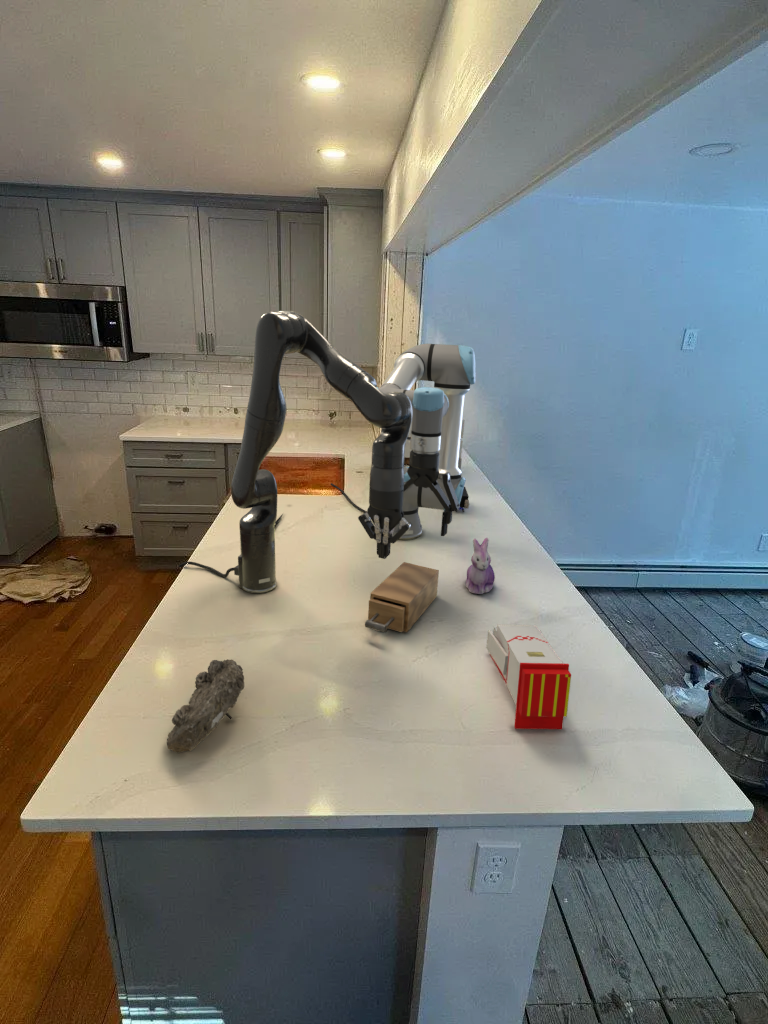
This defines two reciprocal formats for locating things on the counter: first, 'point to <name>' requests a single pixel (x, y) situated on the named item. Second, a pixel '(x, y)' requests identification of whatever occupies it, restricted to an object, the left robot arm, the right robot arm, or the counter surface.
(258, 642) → the counter surface
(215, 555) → the counter surface
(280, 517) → the feather
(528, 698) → the toy
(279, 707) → the counter surface
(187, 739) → the fossil
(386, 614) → the drawer
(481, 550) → the figurine
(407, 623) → the cabinet
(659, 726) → the counter surface
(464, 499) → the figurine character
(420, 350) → the right robot arm
